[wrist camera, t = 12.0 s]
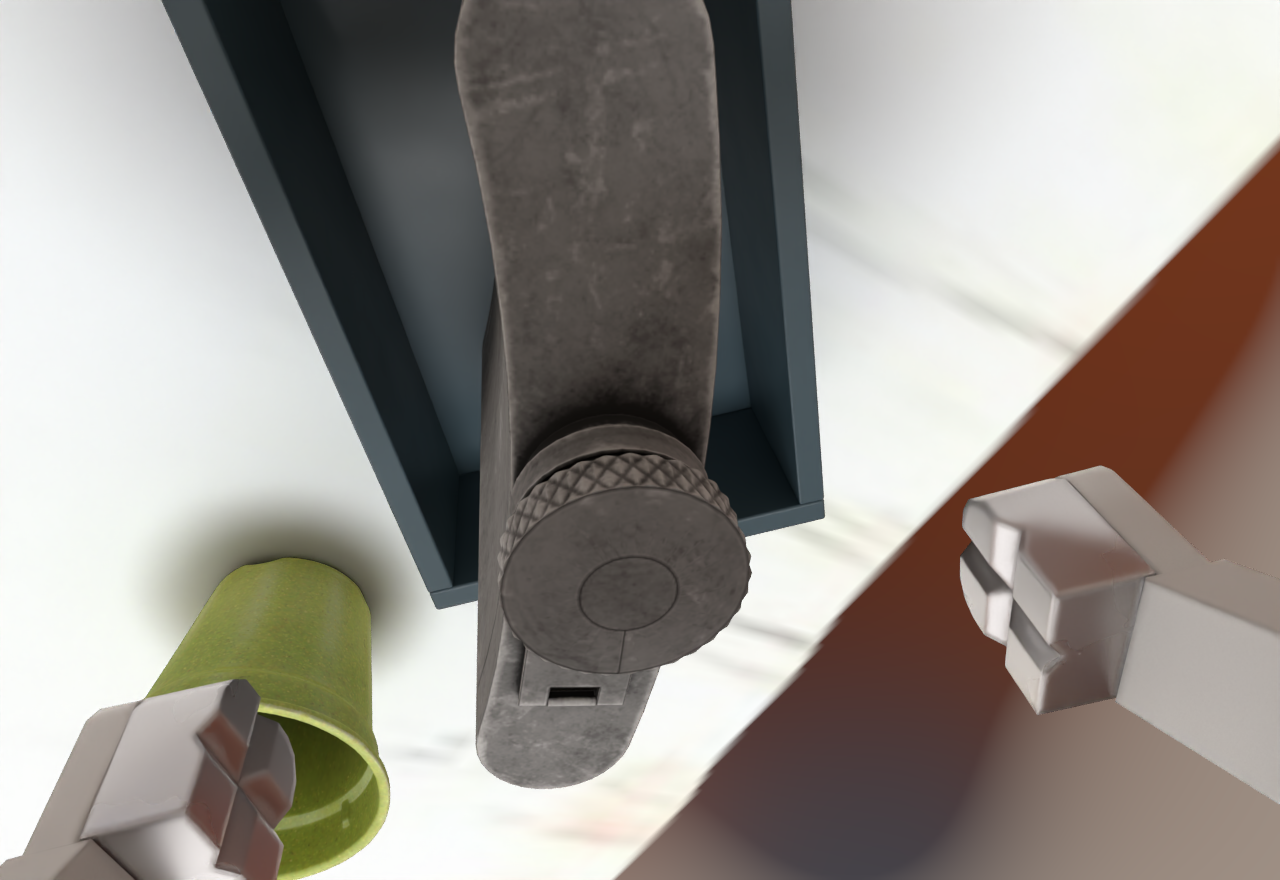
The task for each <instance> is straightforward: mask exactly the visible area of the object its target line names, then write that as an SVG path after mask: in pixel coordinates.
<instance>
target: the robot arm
mask: <svg viewBox="0 0 1280 880" xmlns="http://www.w3.org/2000/svg"><path fill="white" fill-rule="evenodd" d="M962 527H963V528H964V530H965V531H966V533H967V534H968V535H969V537H970V538H971V540H972V542H971V543H970V544H969V545H968V547H967V548H966V549H965V551H964V552H963V553H962V554H961V556H960V579H961V583H962V587H963V592H964V596H965V600H966V602H967V604H968V607H969V609H970V611H971V613H972V615H973V617H974V619H975V621H976V622H977V624H978V625H979V627H980V628H981V630H982V632H983V633H984V635H986V636H988V637H989V638H991V639H993V640H995V641H997V642H999V643H1001V644H1003V645H1005V646H1007V653H1006V662H1005V667H1006V668H1007V670H1008V671H1009V673H1010V674H1011V676H1012V677H1013V679H1014V680H1015V682H1016V683H1017V685H1018V686H1019V688H1020V689H1021V691H1022V692H1023V694H1024V695H1025V697H1026V698H1027V700H1028V701H1029V703H1030V704H1031V706H1032V707H1033V709H1034V710H1035V712H1036V713H1037V715H1040V714H1045V713H1049V712H1054V711H1058V710H1063V709H1067V708H1072V707H1076V706H1081V705H1085V704H1090V703H1094V702H1099V701H1103V700H1108V699H1112V698H1116V701H1115V702H1116V703H1118V704H1119V705H1121V706H1123V707H1124V708H1126V709H1128V710H1129V711H1131V712H1132V713H1134V714H1135V715H1137V716H1139V717H1140V718H1142V719H1144V720H1145V721H1147V722H1148V723H1150V724H1152V725H1153V726H1155V727H1156V728H1158V729H1159V730H1161V731H1163V732H1164V733H1166V734H1167V735H1169V736H1171V737H1173V738H1174V739H1175V740H1177V741H1179V742H1180V743H1182V744H1184V745H1185V746H1187V747H1188V748H1190V749H1191V750H1193V751H1195V752H1196V753H1198V754H1200V755H1201V756H1203V757H1204V758H1206V759H1207V760H1209V761H1211V762H1212V763H1214V764H1215V765H1217V766H1219V767H1220V768H1222V769H1223V770H1225V771H1227V772H1228V773H1230V774H1232V775H1233V776H1235V777H1236V778H1238V779H1239V780H1241V781H1243V782H1244V783H1246V784H1248V785H1249V786H1251V787H1252V788H1254V789H1255V790H1257V791H1259V792H1260V793H1262V794H1263V795H1265V796H1267V797H1268V798H1270V799H1271V800H1273V801H1275V802H1276V803H1278V804H1279V805H1280V579H1279V578H1276V577H1273V576H1270V575H1268V574H1265V573H1262V572H1259V571H1257V570H1254V569H1251V568H1248V567H1246V566H1243V565H1240V564H1238V563H1235V562H1232V561H1229V560H1227V559H1222V560H1217V561H1212V562H1210V561H1209V560H1208V559H1207V558H1206V557H1205V556H1204V555H1203V554H1202V553H1200V552H1199V551H1198V550H1197V549H1196V548H1195V547H1194V546H1193V545H1192V544H1191V543H1190V542H1189V541H1188V540H1186V538H1185V537H1183V536H1182V535H1181V534H1180V533H1179V532H1178V531H1177V530H1176V529H1175V528H1174V527H1173V526H1172V525H1171V524H1170V523H1169V522H1167V521H1166V520H1165V519H1164V518H1163V517H1162V516H1161V515H1160V514H1159V513H1158V512H1157V511H1156V510H1154V508H1153V507H1151V506H1150V505H1149V504H1148V503H1147V502H1146V501H1145V500H1144V499H1143V498H1142V497H1141V496H1140V495H1139V494H1138V493H1137V492H1135V491H1134V490H1133V489H1132V488H1131V487H1130V486H1129V485H1128V484H1127V483H1126V482H1125V481H1124V480H1123V479H1122V478H1120V477H1119V476H1118V475H1117V474H1116V473H1115V472H1114V471H1113V470H1111V469H1108V468H1106V467H1103V466H1098V467H1094V468H1090V469H1087V470H1082V471H1079V472H1074V473H1070V474H1066V475H1062V476H1059V477H1056V478H1055V479H1047V480H1044V481H1040V482H1035V483H1032V484H1028V485H1024V486H1020V487H1016V488H1012V489H1008V490H1004V491H1000V492H996V493H992V494H988V495H984V496H980V497H976V498H973V499H969V500H968V502H967V504H966V506H965V508H964V511H963V522H962ZM260 700H261V697H260V696H259V695H258V693H257V692H256V691H255V690H254V688H253V687H252V686H251V685H250V683H249V682H248V681H247V680H246V679H232V680H228V681H223V682H218V683H214V684H209V685H205V686H200V687H196V688H191V689H186V690H182V691H177V692H173V693H168V694H163V695H159V696H154V697H150V698H146V699H144V700H141V701H136V702H131V703H127V704H122V705H117V706H113V707H108V708H103V709H100V710H99V711H97V712H96V713H95V714H94V715H93V716H92V717H90V718H89V719H88V720H87V721H86V723H85V724H84V727H83V729H82V731H81V733H80V735H79V737H78V739H77V741H76V743H75V746H74V748H73V750H72V752H71V754H70V756H69V758H68V760H67V762H66V765H65V767H64V769H63V771H62V773H61V775H60V777H59V779H58V781H57V784H56V786H55V788H54V790H53V792H52V794H51V796H50V798H49V800H48V803H47V805H46V807H45V809H44V811H43V813H42V815H41V817H40V819H39V822H38V824H37V826H36V828H35V830H34V832H33V834H32V836H31V838H30V841H29V843H28V845H27V847H26V849H25V851H24V853H23V855H22V856H19V857H15V858H11V859H8V860H6V861H5V862H4V863H3V864H2V865H1V866H0V880H277V876H278V871H279V866H280V862H281V857H282V852H283V847H284V845H283V843H282V842H281V840H280V839H279V837H278V835H277V834H276V832H275V831H274V829H275V827H276V826H277V825H278V824H279V822H280V821H281V820H282V818H283V817H284V816H285V815H286V813H287V812H288V811H289V810H290V808H291V807H292V803H293V798H294V792H295V786H296V769H295V755H294V752H293V749H292V746H291V744H290V741H289V738H288V736H287V734H286V733H285V731H284V730H283V728H282V727H281V726H280V724H279V723H278V722H275V721H273V720H270V719H268V718H266V717H263V716H261V715H258V714H257V712H258V708H259V704H260Z"/></svg>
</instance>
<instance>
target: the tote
mask: <svg viewBox="0 0 1280 880" xmlns="http://www.w3.org/2000/svg"><path fill="white" fill-rule="evenodd" d="M161 1H162V3H163V5H164V7H165V10H166V12H167V14H168V16H169V18H170V21H171V23H172V25H173V27H174V29H175V32H176V34H177V36H178V38H179V41H180V43H181V45H182V47H183V49H184V52H185V54H186V56H187V58H188V60H189V63H190V65H191V67H192V69H193V72H194V74H195V76H196V78H197V80H198V83H199V85H200V87H201V89H202V91H203V94H204V96H205V98H206V100H207V103H208V105H209V107H210V109H211V111H212V114H213V116H214V118H215V120H216V122H217V125H218V127H219V129H220V131H221V134H222V136H223V138H224V140H225V142H226V145H227V147H228V149H229V151H230V153H231V156H232V158H233V160H234V162H235V165H236V167H237V169H238V171H239V173H240V176H241V178H242V180H243V182H244V184H245V187H246V189H247V191H248V193H249V196H250V198H251V200H252V202H253V204H254V207H255V209H256V211H257V213H258V215H259V218H260V220H261V222H262V224H263V227H264V229H265V231H266V233H267V235H268V238H269V240H270V242H271V244H272V246H273V249H274V251H275V253H276V255H277V258H278V260H279V262H280V264H281V266H282V269H283V271H284V273H285V275H286V277H287V280H288V282H289V284H290V286H291V289H292V291H293V293H294V295H295V297H296V300H297V302H298V304H299V306H300V308H301V311H302V313H303V315H304V317H305V319H306V322H307V324H308V326H309V328H310V331H311V333H312V335H313V337H314V339H315V342H316V344H317V346H318V348H319V350H320V353H321V355H322V357H323V359H324V362H325V364H326V366H327V368H328V370H329V373H330V375H331V377H332V379H333V381H334V384H335V386H336V388H337V390H338V393H339V395H340V397H341V399H342V401H343V404H344V406H345V408H346V410H347V412H348V415H349V417H350V419H351V421H352V424H353V426H354V428H355V430H356V432H357V435H358V437H359V439H360V441H361V443H362V446H363V448H364V450H365V452H366V455H367V457H368V459H369V461H370V463H371V466H372V468H373V470H374V472H375V474H376V477H377V479H378V481H379V483H380V486H381V488H382V490H383V492H384V494H385V497H386V499H387V501H388V503H389V505H390V508H391V510H392V512H393V514H394V517H395V519H396V521H397V523H398V525H399V528H400V530H401V532H402V534H403V536H404V539H405V541H406V543H407V545H408V548H409V550H410V552H411V554H412V556H413V559H414V561H415V563H416V565H417V567H418V570H419V572H420V574H421V576H422V579H423V581H424V583H425V585H426V587H427V590H428V591H429V592H430V596H431V598H432V600H433V602H434V604H435V607H436V609H444V608H448V607H452V606H456V605H461V604H465V603H469V602H473V601H477V600H478V572H479V510H480V447H481V385H482V345H483V339H484V334H485V330H486V326H487V321H488V316H489V311H490V305H491V299H492V294H493V286H494V277H495V273H494V265H493V258H492V251H491V244H490V239H489V233H488V228H487V223H486V218H485V212H484V207H483V202H482V197H481V192H480V186H479V181H478V176H477V171H476V166H475V162H474V157H473V153H472V149H471V145H470V140H469V136H468V132H467V127H466V123H465V119H464V115H463V110H462V106H461V102H460V97H459V93H458V88H457V81H456V75H455V68H454V36H455V30H456V25H457V21H458V16H459V12H460V8H461V3H462V0H161ZM704 3H705V6H706V9H707V11H708V14H709V17H710V22H711V28H712V34H713V40H714V48H715V64H716V81H717V98H718V114H719V131H720V163H721V202H722V247H721V292H720V313H719V330H718V348H717V366H716V376H715V386H714V396H713V406H712V415H711V425H710V433H709V440H708V447H707V454H706V461H705V471H706V473H707V476H708V479H710V480H712V481H714V482H716V483H717V486H718V488H719V490H720V492H722V493H723V494H724V495H726V496H727V497H728V499H729V504H730V507H731V508H732V510H733V511H734V512H735V513H736V515H737V521H738V526H739V528H740V529H741V531H742V532H743V533H744V535H745V537H747V536H751V535H756V534H760V533H764V532H768V531H772V530H777V529H781V528H785V527H789V526H794V525H798V524H802V523H806V522H810V521H815V520H819V519H823V518H824V517H825V510H824V500H823V498H824V492H823V477H822V462H821V447H820V431H819V416H818V401H817V386H816V371H815V356H814V341H813V325H812V310H811V295H810V280H809V265H808V250H807V235H806V219H805V204H804V189H803V174H802V159H801V144H800V129H799V113H798V98H797V83H796V68H795V53H794V38H793V23H792V7H791V0H704Z"/></svg>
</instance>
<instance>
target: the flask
mask: <svg viewBox="0 0 1280 880" xmlns="http://www.w3.org/2000/svg"><path fill="white" fill-rule="evenodd" d="M454 68H455V75H456V81H457V88H458V93H459V97H460V102H461V106H462V110H463V115H464V119H465V123H466V127H467V132H468V136H469V140H470V145H471V149H472V153H473V157H474V162H475V166H476V171H477V176H478V181H479V186H480V192H481V197H482V202H483V207H484V212H485V218H486V223H487V228H488V233H489V239H490V244H491V251H492V258H493V265H494V273H495V277H494V286H493V294H492V299H491V305H490V311H489V316H488V321H487V326H486V330H485V334H484V339H483V345H482V385H481V447H480V510H479V572H478V635H477V697H476V750H477V755H478V757H479V759H480V761H481V763H482V765H483V766H484V767H485V768H486V769H487V770H488V771H489V772H490V773H492V774H493V775H494V776H496V777H497V778H499V779H501V780H503V781H505V782H508V783H510V784H513V785H517V786H521V787H526V788H534V789H553V788H562V787H567V786H572V785H576V784H579V783H582V782H585V781H587V780H590V779H593V778H594V777H596V776H598V775H600V774H602V773H604V772H605V771H606V770H608V769H609V768H610V767H612V766H613V765H614V764H615V763H616V762H617V761H618V760H619V759H620V758H621V757H622V756H623V755H624V753H625V751H626V750H627V748H628V747H629V745H630V742H631V740H632V738H633V735H634V733H635V731H636V728H637V726H638V724H639V721H640V719H641V717H642V714H643V712H644V709H645V707H646V704H647V701H648V699H649V696H650V693H651V691H652V688H653V685H654V683H655V680H656V677H657V675H658V672H659V669H660V666H662V665H666V664H670V663H674V662H676V661H678V660H679V659H680V658H682V657H683V656H686V655H689V654H692V653H694V652H696V651H697V650H698V649H699V648H700V647H701V646H703V645H704V644H706V643H708V642H710V641H712V640H713V639H714V638H715V637H716V635H717V634H718V632H719V631H721V630H722V629H724V628H725V627H727V626H728V625H729V623H730V621H731V619H732V617H733V616H734V615H735V614H736V613H737V612H738V611H739V610H740V608H741V602H742V600H743V598H744V597H745V596H746V594H747V593H748V582H749V579H750V577H751V574H752V572H751V569H750V566H749V563H750V559H751V555H750V553H749V551H748V549H747V548H746V539H745V535H744V533H743V532H742V531H741V529H740V528H739V526H738V521H737V515H736V513H735V512H734V511H733V510H732V508H731V507H730V504H729V499H728V497H727V496H726V495H724V494H723V493H722V492H720V490H719V488H718V486H717V483H716V482H714V481H712V480H710V479H708V476H707V473H706V471H705V461H706V454H707V447H708V440H709V433H710V425H711V415H712V406H713V396H714V386H715V376H716V366H717V348H718V330H719V313H720V292H721V247H722V202H721V163H720V131H719V114H718V98H717V81H716V64H715V48H714V40H713V34H712V28H711V22H710V17H709V14H708V11H707V9H706V6H705V3H704V0H462V3H461V8H460V12H459V16H458V21H457V25H456V30H455V36H454Z"/></svg>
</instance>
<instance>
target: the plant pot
mask: <svg viewBox="0 0 1280 880" xmlns="http://www.w3.org/2000/svg"><path fill="white" fill-rule="evenodd" d="M232 679H246V680H247V681H248V682H249V683H250V685H251V686H252V687H253V688H254V690H255V691H256V692H257V693H258V695H259V696H260V697H261V700H260V704H259V708H258V712H257V714H258V715H261V716H263V717H266V718H268V719H270V720H273V721H275V722H278V723H279V724H280V726H281V727H282V728H283V730H284V731H285V733H286V734H287V736H288V738H289V741H290V744H291V746H292V749H293V752H294V755H295V769H296V786H295V792H294V798H293V803H292V807H291V808H290V810H289V811H288V812H287V813H286V815H285V816H284V817H283V818H282V820H281V821H280V822H279V824H278V825H277V826H276V827H275V829H274V831H275V832H276V834H277V835H278V837H279V839H280V840H281V842H282V843H283V845H284V847H283V852H282V857H281V862H280V866H279V871H278V876H277V880H297V879H301V878H304V877H308V876H311V875H314V874H317V873H319V872H322V871H325V870H327V869H329V868H331V867H334V866H336V865H338V864H340V863H342V862H344V861H346V860H347V859H349V858H350V857H352V856H353V855H355V854H356V853H357V852H359V851H360V850H362V849H363V848H364V847H365V846H367V845H368V844H369V843H370V842H371V841H372V839H373V838H374V837H375V836H376V834H377V833H378V831H379V830H380V829H381V827H382V825H383V824H384V822H385V819H386V817H387V814H388V810H389V805H390V784H389V778H388V775H387V772H386V769H385V767H384V764H383V763H382V761H381V759H380V757H379V753H378V746H377V742H376V739H375V736H374V733H373V731H372V674H371V614H370V611H369V608H368V606H367V604H366V601H365V599H364V597H363V595H362V593H361V591H360V589H359V587H358V586H357V585H356V584H355V583H354V582H353V581H352V580H351V579H350V578H348V577H347V576H346V575H344V574H343V573H341V572H339V571H338V570H336V569H334V568H332V567H330V566H327V565H324V564H321V563H318V562H315V561H311V560H306V559H300V558H289V557H287V558H281V559H278V560H275V561H271V562H267V563H261V564H255V565H244V566H242V567H240V568H238V569H236V570H234V571H233V572H232V573H230V574H229V575H228V576H226V577H225V578H224V579H223V580H222V581H221V582H220V584H219V585H218V586H217V588H216V589H215V590H214V592H213V594H212V595H211V597H210V598H209V600H208V601H207V603H206V604H205V606H204V607H203V609H202V611H201V612H200V614H199V615H198V617H197V619H196V620H195V622H194V623H193V625H192V627H191V628H190V630H189V631H188V633H187V634H186V636H185V638H184V639H183V641H182V642H181V644H180V645H179V647H178V649H177V650H176V652H175V653H174V655H173V656H172V658H171V659H170V661H169V662H168V664H167V666H166V667H165V669H164V670H163V672H162V673H161V675H160V676H159V678H158V679H157V681H156V682H155V684H154V685H153V687H152V688H151V690H150V691H149V693H148V694H147V696H146V697H145V698H144V699H146V698H150V697H154V696H159V695H163V694H168V693H173V692H177V691H182V690H186V689H191V688H196V687H200V686H205V685H209V684H214V683H218V682H223V681H228V680H232ZM144 699H143V700H144Z"/></svg>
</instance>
